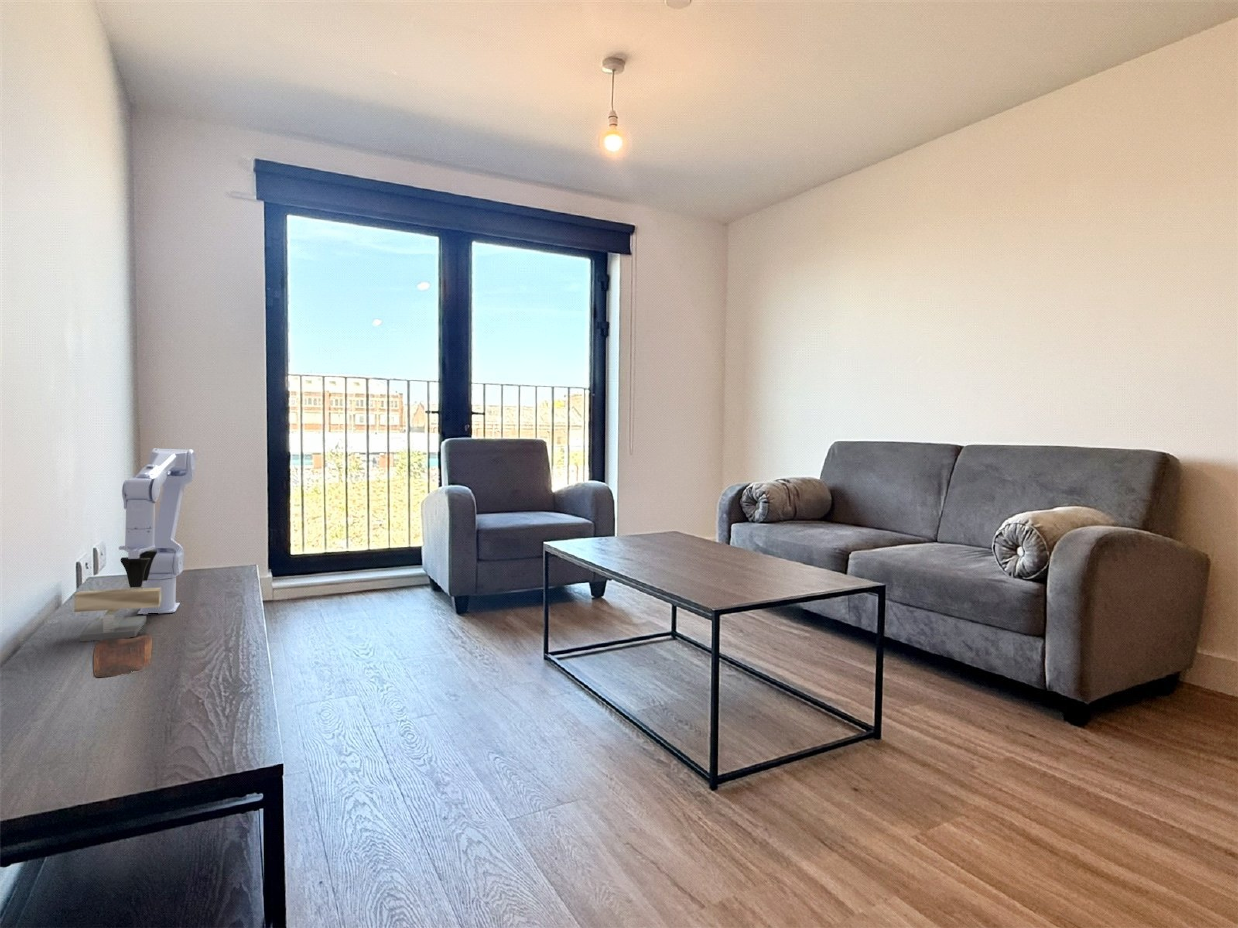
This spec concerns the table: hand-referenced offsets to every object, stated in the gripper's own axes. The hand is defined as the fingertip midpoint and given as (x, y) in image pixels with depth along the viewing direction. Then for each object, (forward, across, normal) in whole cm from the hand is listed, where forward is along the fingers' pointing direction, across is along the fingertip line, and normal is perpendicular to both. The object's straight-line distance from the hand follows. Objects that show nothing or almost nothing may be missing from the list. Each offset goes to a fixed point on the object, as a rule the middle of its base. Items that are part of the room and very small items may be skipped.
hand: (138, 583), depth 160 cm
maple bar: (+5, +3, -3) cm, 7 cm away
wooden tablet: (+11, +24, +1) cm, 26 cm away
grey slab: (+10, +3, -4) cm, 11 cm away
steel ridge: (+9, +3, -4) cm, 10 cm away
